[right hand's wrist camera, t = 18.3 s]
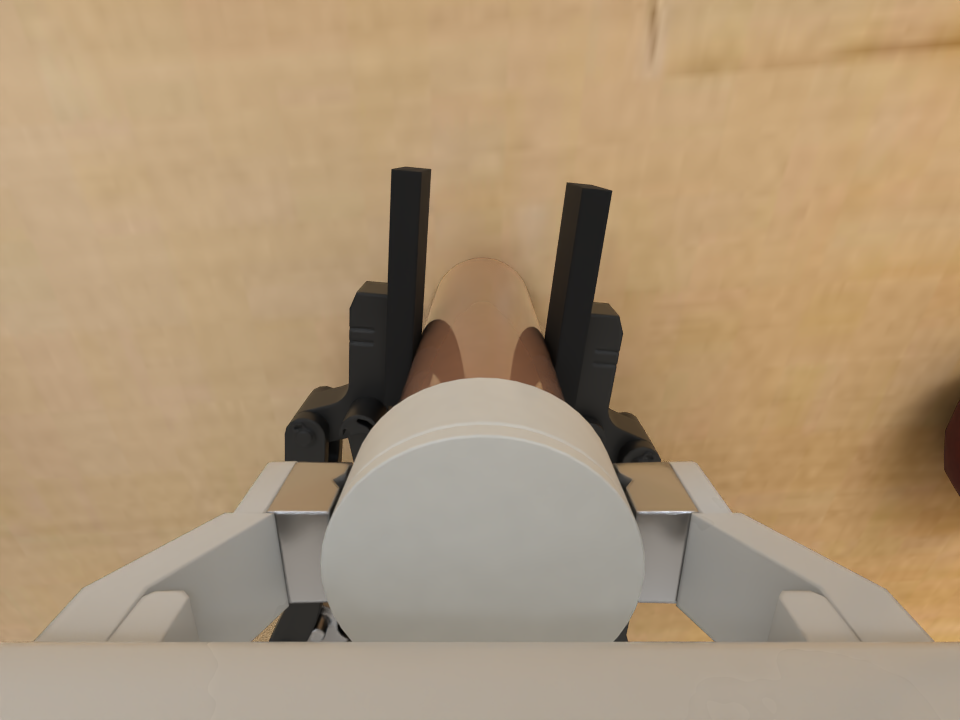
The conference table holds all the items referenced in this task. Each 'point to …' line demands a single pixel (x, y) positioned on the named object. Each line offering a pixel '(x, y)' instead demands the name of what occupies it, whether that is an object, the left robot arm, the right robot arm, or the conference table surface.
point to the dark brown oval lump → (953, 449)
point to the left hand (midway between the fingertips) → (500, 179)
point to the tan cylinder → (482, 331)
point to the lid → (482, 524)
